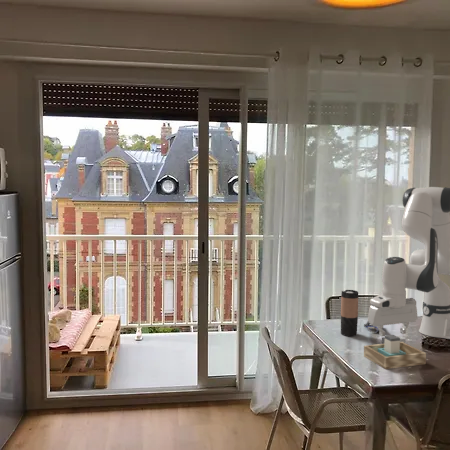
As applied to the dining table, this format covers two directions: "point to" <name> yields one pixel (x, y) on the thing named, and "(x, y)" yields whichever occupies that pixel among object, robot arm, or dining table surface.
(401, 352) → the teal socket
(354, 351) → the dining table surface
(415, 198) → the robot arm
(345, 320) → the travel mug
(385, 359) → the birch crate
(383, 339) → the grey plug
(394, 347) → the ivory connector
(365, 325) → the snack package
